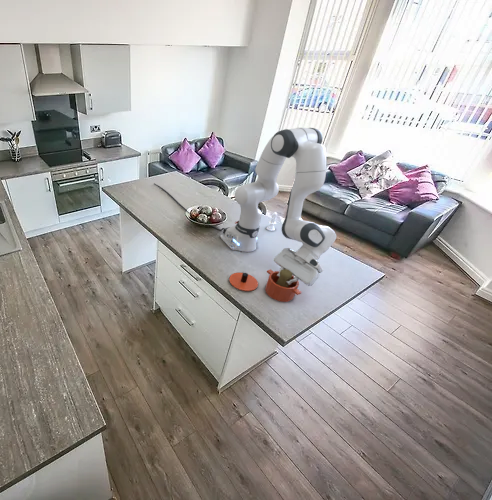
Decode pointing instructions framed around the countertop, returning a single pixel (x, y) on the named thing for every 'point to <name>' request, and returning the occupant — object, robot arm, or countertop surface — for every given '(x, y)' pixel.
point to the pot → (280, 288)
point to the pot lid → (243, 281)
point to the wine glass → (272, 222)
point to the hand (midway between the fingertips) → (283, 280)
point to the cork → (284, 278)
